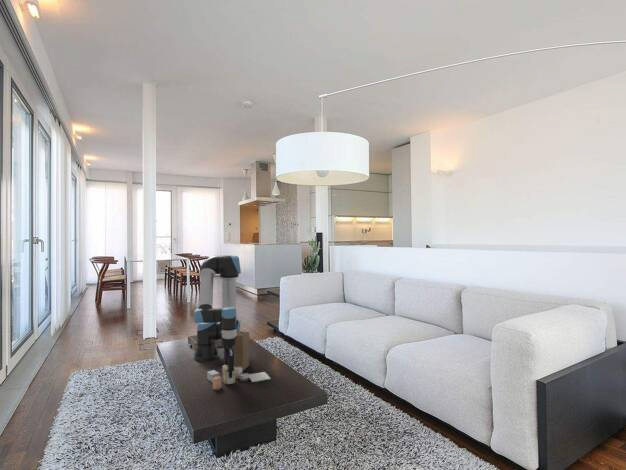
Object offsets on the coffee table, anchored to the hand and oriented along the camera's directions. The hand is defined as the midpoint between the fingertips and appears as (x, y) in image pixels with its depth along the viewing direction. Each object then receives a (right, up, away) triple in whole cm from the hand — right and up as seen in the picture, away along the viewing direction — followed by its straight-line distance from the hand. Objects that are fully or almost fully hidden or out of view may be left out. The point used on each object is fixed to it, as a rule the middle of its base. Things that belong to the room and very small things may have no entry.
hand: (228, 381), depth 190 cm
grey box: (-9, 0, +3) cm, 9 cm away
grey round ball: (+8, 0, +2) cm, 8 cm away
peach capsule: (-4, 0, -8) cm, 9 cm away
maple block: (0, 0, 0) cm, 0 cm away
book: (-28, -2, +71) cm, 76 cm away
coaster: (+15, 0, +6) cm, 16 cm away
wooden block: (+1, -1, +20) cm, 20 cm away
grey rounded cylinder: (+4, 0, +6) cm, 7 cm away
